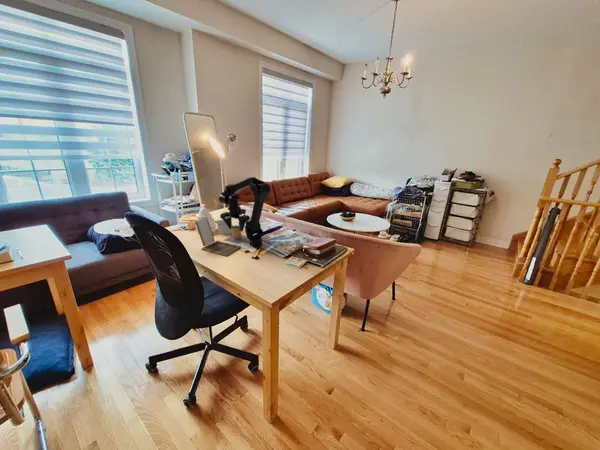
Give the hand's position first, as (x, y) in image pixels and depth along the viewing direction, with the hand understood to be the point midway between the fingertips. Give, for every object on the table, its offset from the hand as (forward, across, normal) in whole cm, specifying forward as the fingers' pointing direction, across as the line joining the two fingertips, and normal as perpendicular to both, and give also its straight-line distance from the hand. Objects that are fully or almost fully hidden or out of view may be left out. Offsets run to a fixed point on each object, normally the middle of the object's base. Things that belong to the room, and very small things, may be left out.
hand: (236, 230), depth 150 cm
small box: (+7, +14, -5) cm, 16 cm away
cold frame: (+7, +1, +16) cm, 17 cm away
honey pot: (+7, +30, -3) cm, 31 cm away
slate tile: (+7, 0, 0) cm, 7 cm away
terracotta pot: (+5, 0, 0) cm, 5 cm away
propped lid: (-3, +9, +15) cm, 18 cm away
